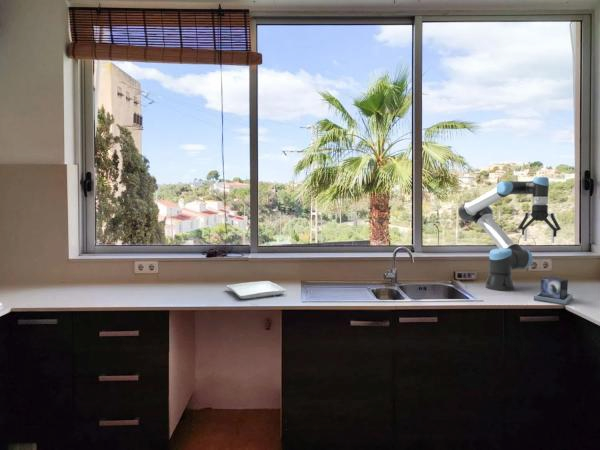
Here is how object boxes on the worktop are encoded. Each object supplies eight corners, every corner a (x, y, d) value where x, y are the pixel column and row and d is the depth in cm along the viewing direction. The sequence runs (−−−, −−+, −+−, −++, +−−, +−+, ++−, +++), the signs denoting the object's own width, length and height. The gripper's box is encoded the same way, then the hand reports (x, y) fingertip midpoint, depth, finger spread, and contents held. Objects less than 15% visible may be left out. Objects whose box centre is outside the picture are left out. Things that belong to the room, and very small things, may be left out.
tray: (533, 300, 198) (533, 295, 198) (542, 294, 211) (542, 290, 211) (566, 305, 189) (566, 300, 188) (572, 298, 201) (572, 294, 201)
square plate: (225, 291, 223) (225, 284, 223) (268, 286, 236) (268, 280, 235) (240, 302, 199) (239, 294, 199) (287, 295, 211) (287, 289, 211)
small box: (539, 296, 203) (540, 276, 203) (547, 295, 206) (548, 275, 205) (559, 300, 194) (560, 280, 193) (567, 299, 196) (568, 279, 196)
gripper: (513, 204, 221) (512, 240, 222) (564, 204, 203) (563, 244, 205) (517, 204, 226) (516, 239, 228) (567, 204, 209) (566, 242, 210)
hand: (538, 241), depth 216 cm, fingers open, 13 cm apart
